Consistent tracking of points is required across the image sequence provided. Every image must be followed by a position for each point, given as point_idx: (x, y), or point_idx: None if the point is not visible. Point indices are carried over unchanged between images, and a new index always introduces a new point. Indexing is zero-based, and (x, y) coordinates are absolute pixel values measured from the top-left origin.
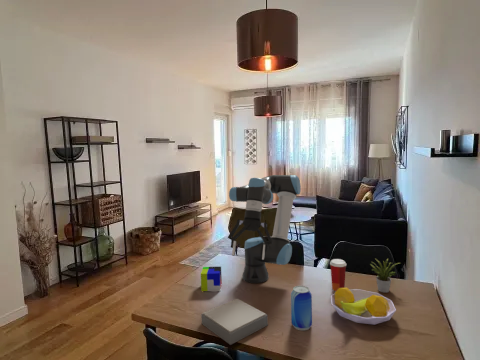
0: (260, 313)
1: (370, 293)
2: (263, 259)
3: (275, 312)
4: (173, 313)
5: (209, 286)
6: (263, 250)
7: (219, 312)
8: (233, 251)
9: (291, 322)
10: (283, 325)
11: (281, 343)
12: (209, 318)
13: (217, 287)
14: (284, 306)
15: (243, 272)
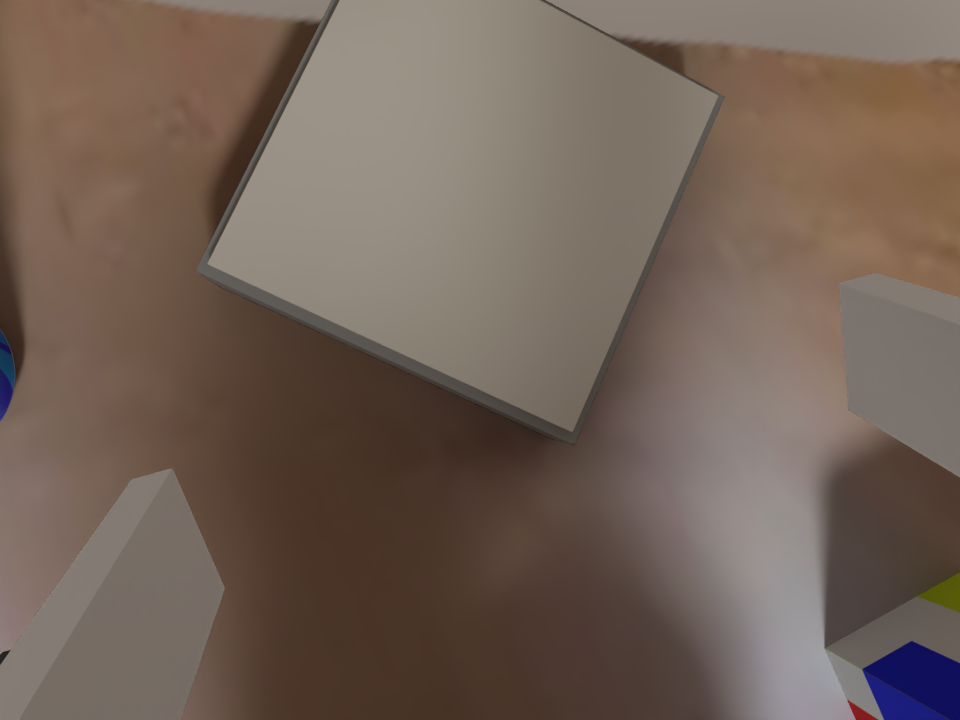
0: (255, 251)
1: None
2: (134, 480)
3: (221, 498)
4: (947, 181)
5: (939, 620)
6: (68, 605)
7: (597, 145)
8: (917, 303)
9: (9, 347)
10: (90, 328)
11: (33, 93)
12: (630, 54)
13: (869, 651)
14: None
15: None
